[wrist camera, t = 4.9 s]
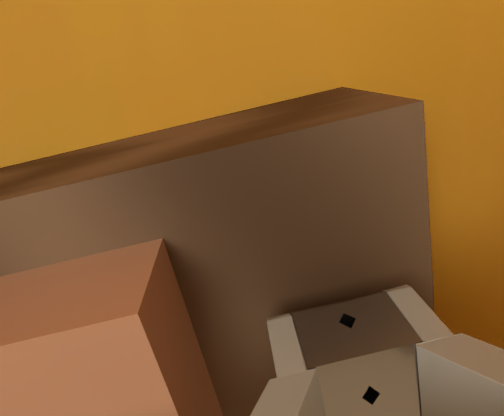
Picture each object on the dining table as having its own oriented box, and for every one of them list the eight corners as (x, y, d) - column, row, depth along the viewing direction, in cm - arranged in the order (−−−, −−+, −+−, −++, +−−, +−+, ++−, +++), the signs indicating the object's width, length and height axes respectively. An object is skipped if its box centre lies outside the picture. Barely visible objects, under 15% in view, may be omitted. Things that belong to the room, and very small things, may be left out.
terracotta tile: (162, 238, 8) (137, 313, 5) (222, 413, 9) (223, 528, 7) (-78, 295, 8) (-208, 395, 5) (28, 459, 9) (-35, 588, 7)
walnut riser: (342, 86, 12) (423, 100, 7) (385, 425, 17) (446, 558, 12) (-250, 227, 12) (-556, 332, 7) (-22, 520, 17) (-112, 689, 13)
